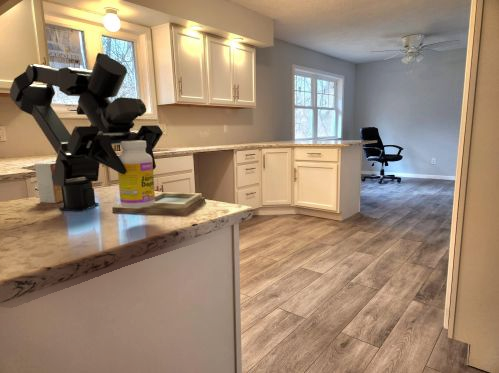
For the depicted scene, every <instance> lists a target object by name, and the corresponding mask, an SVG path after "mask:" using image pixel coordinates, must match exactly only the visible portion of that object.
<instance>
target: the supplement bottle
mask: <svg viewBox="0 0 499 373" xmlns="http://www.w3.org/2000/svg"><path fill="white" fill-rule="evenodd" d="M146 147H147V146H146V141H121V145H120V148H121V150H122V153H121V154H119V155H118V157H119V158H120V160H121V162H122V163H123V165H124V167H125V169H126V172H125V174H121V173H119V172H117V176H118V189H119V190H118V191H119V200H120V204H121V205H122V206H123V207H126V208H142V207H147V206H150V205H152V204H154V202H155V195H156V193H155V180H154V178H155V177H154V170H153V161H152V157H151V155H149V154H147V153H146V150H145V149H146Z"/></svg>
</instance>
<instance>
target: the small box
mask: <svg viewBox="0 0 499 373" xmlns="http://www.w3.org/2000/svg"><path fill="white" fill-rule="evenodd" d="M55 163H56V160H55V161H48V162H40V163H39V162H38V163H34V170H35V177H36V182H37V183H36V185H37V190H38V197H39V202H40V203H48V204H56V203H60V202H63V197H62V189H61V186H57V185H54V183H53V180H52V174H53V171H54V169H55V166H56V165H55ZM75 179H78V178H75ZM66 180H71V179H66Z"/></svg>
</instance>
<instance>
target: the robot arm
mask: <svg viewBox="0 0 499 373" xmlns="http://www.w3.org/2000/svg"><path fill="white" fill-rule="evenodd" d="M127 74H128V69H127V68H126V66H125V65H124V64H122V63H120V62H119V61H117V60H115V59H114V58H112V57H110V56H109V55H108V53H107V54H106V53H101V52H98V53H97V55H96V57H95V61H94V65H93V67H92V70H89V69H83V68H75V67H66V66H65V67H61V68H54V67H50V66H47V65H41V64H35V63H33V64H28V65H27V67H26V69H25V71H24V72H22V73H21V74H20V75H18V76H16V77H15V78H14V79H13V81H12V84H11V87H10V89H9V95H10V99H11V101H12V102H13V103H14V105H15V106H17V108H18V109H19V110H20V111H22V112H23V113H26V114H28V115H30V116H32V117H33V119H34V120H35V122H36V124H37V125H38V127H39V128H40V129H41V132H43V135H44V136H45V137H46V139H47V140H48V142H49V144H50V145H51V147H52V148H53V150H54V151H55V153H56V154H57V155H56V158H55V161H56V163H55V165H56V166H55V169H54V171H53V174H52V180H53V183H54V185H57V186H61V189H62V197H63V201H62V203H63V204H62V205H63V206H59V207H58V210H59V211H75V212H76V211H78V212H80V211H81V212H82V211H85V210H87V209H90V208H93V207H96V206H98V205H100V203H99V202H96V195H95V189H94V187H93V182H99V173H100V172H99V171H100V164H101V165H104V166H106V167H108V168H109V169H112V170H114V171H115V172H117V173H118V172H119V173H121V174H125V172H126V169H125V167H124V165H123V163H122V162H121V160H120V158H119V157H118V156H119V155H118V154H117V153H116V151H115V149H114V148H113V146H118V145H119V146H121V141H146V146H147V147H146V149H145V150H146V153H147V154H149V155H151V157H152V161H153V171H154V170H155V169H156V167H157V164H156V161H155V156H154V151H153V150H154V148H156V145H157V144H158V142H159V141H160V139H161V138H162V136H163V134H164V132H163V130H162V129H161V127H160V126H159V125H158V124H157V125H156V124H155V125H154V124H153V125H150V124H149V125H148V124H147V125H141V126H140V127H139V129H138V132H134V133H133V132H131V129H133V128H134V127H135V123H134V121H135V119H138V117H142V116H143V115H144V114H145V113H146V112H147V107H146V104H145V102H144V101H143V100H142V99H141V98H135V97H121V96H119V97H117V96H118V94H119V91H120V89H121V87H122V84H123V82H124V80H125V78H126V76H127ZM34 82H35V83H41V84H34ZM42 83H43V84H42ZM45 84H46V85H45ZM54 87H58V89H59V91H60V92H61V93H63V94H64V95H66V96H69V97H78V100H77V108H76V114H77V115H78V116H79V115H85V116H86V118H87V120H89V122H90V125H88V126H87V125H86V126H84V125H82V126H81V125H80V126H79V125H78V126H74V128H73V129H72V131H71V133H70V132H69V130H68V129H67V127H66V126H65V124H64V123H63V122H62V119H61V118H60V117H59V115H58V114H57V112H56V111H55V109H54V108H53V107H52V101H53V98H54V97H55V94H56V91H55V89H54ZM115 97H116V98H115ZM109 98H115V99H114V100H112V101H111V100H110V99H109ZM75 178H77V179H75ZM66 179H71V180H66Z"/></svg>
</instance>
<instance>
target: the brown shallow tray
mask: <svg viewBox="0 0 499 373" xmlns="http://www.w3.org/2000/svg"><path fill="white" fill-rule="evenodd" d="M202 194H203V193H201V192H200V193H198V192H197V193H195V192H194V193H193V192H192V193H191V192H164V191H162V192H159V193H158V194H155V202H154V204H152V205H150V206H147V207H142V208H126V207H123V206H122V205H121V203H119V204H117V205H115V206H112V207H111V209H112V210H111V212H112V213H117V214H118V213H121V214H123V213H124V214H139V213H140V214H141V213H143V214H144V215H162V216H163V215H164V216H167V215H168V216H183V217H184V216H186V215H188V214H189V213H191V212H192V211H194V210H195V209H196V208H198V207H199V206H201V205H202V204H204V203H205V202H206V197H205V196H203V195H202ZM145 213H147V214H145ZM143 214H142V215H143Z"/></svg>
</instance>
